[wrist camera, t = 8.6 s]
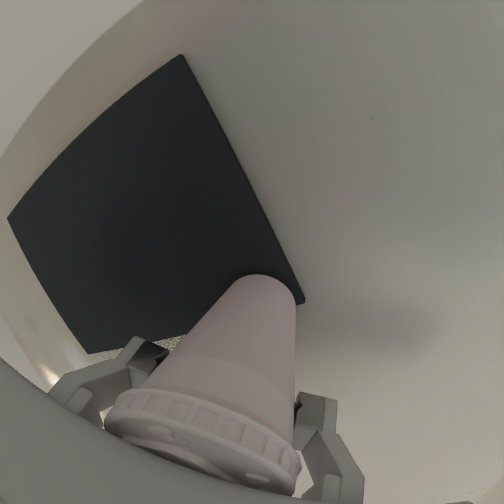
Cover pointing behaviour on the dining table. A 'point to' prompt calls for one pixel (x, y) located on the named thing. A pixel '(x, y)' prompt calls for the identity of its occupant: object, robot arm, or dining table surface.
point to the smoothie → (224, 392)
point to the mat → (146, 218)
